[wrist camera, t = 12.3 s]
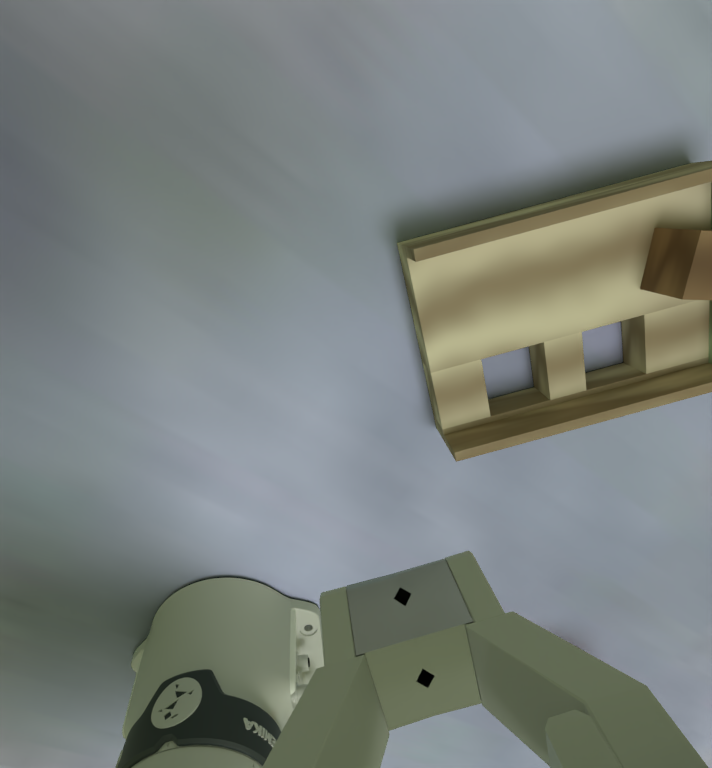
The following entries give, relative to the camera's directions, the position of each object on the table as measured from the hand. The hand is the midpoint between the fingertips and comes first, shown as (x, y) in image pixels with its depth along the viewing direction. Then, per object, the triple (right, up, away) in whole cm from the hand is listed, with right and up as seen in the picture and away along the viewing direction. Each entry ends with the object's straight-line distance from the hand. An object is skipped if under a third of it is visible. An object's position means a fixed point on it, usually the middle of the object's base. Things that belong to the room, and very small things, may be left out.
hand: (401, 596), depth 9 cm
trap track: (+15, +11, +30) cm, 35 cm away
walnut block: (+23, +13, +26) cm, 37 cm away
